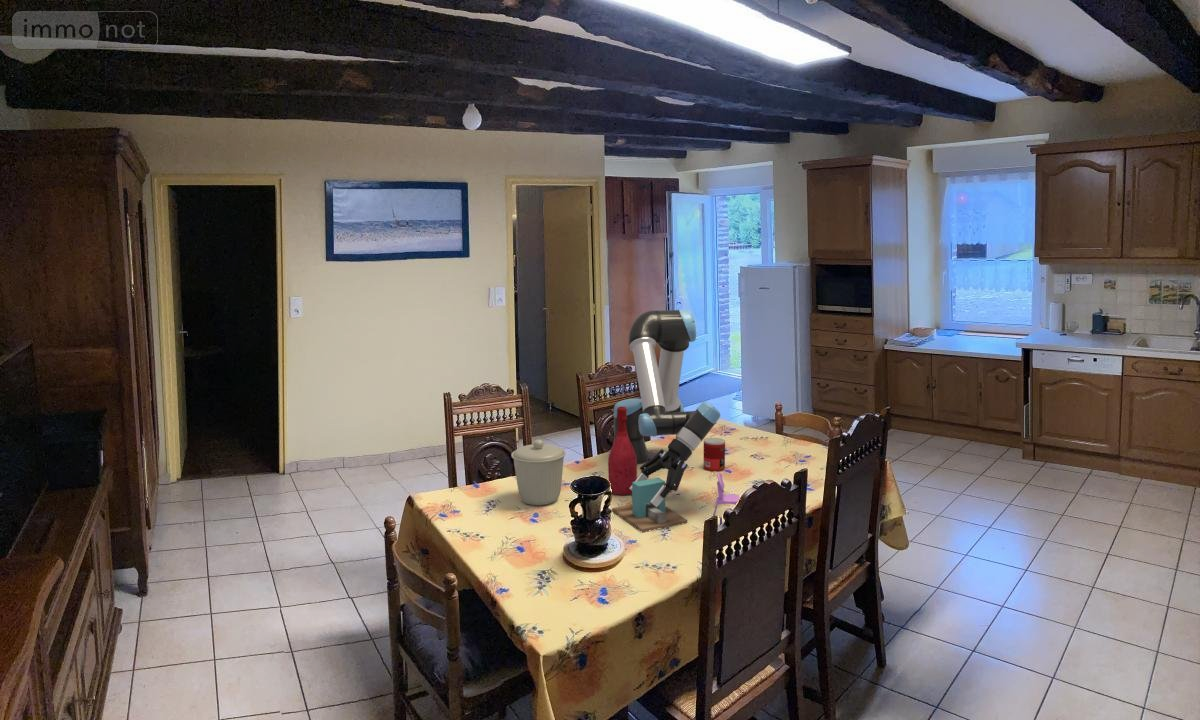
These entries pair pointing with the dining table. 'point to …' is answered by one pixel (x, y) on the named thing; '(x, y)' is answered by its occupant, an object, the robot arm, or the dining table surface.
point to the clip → (645, 495)
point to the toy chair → (724, 497)
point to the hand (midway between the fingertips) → (642, 497)
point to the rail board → (647, 520)
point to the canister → (539, 472)
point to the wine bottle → (622, 458)
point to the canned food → (714, 454)
